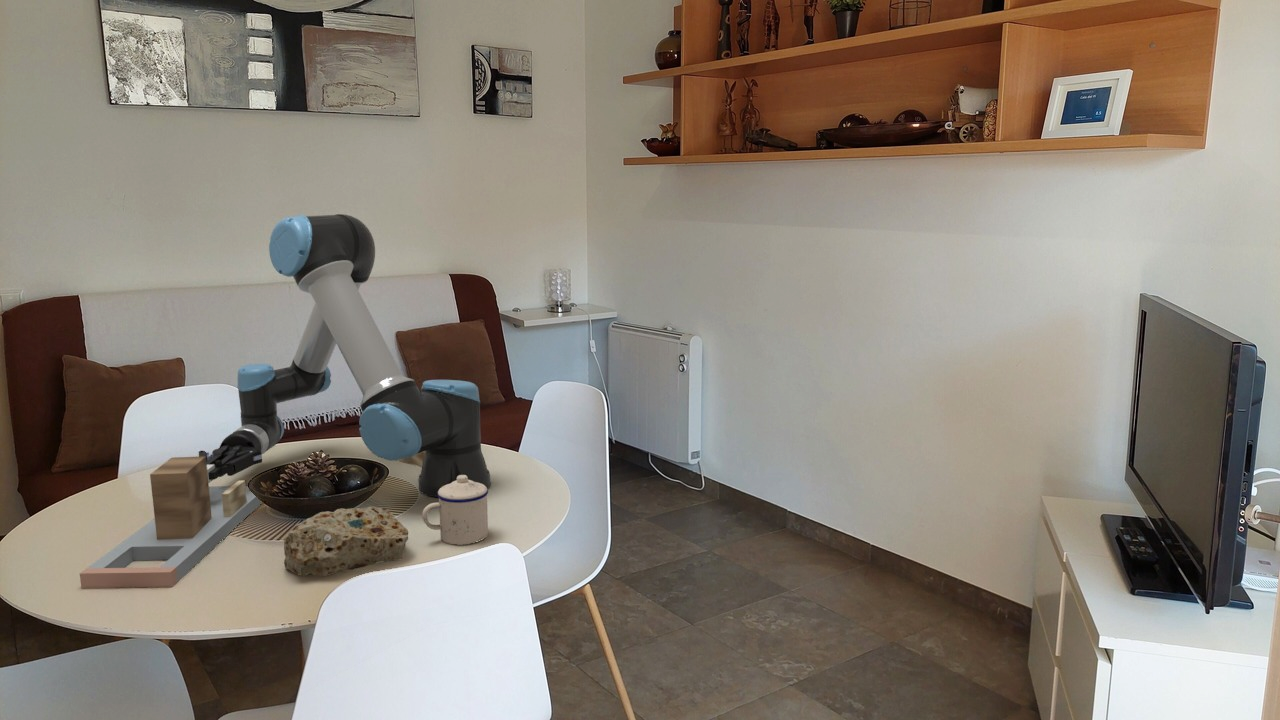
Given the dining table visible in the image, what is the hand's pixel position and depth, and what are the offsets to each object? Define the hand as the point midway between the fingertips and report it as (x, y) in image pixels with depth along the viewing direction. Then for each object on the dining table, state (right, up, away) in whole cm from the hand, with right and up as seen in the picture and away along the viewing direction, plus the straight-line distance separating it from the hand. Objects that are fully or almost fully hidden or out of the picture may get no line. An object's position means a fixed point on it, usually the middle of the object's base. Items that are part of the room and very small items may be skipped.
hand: (197, 481), depth 174 cm
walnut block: (+1, -8, -7) cm, 10 cm away
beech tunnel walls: (0, -6, +2) cm, 6 cm away
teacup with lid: (+50, -10, -5) cm, 51 cm away
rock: (+33, -12, -15) cm, 39 cm away
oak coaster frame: (+33, 0, +47) cm, 57 cm away
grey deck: (0, -10, -4) cm, 11 cm away
